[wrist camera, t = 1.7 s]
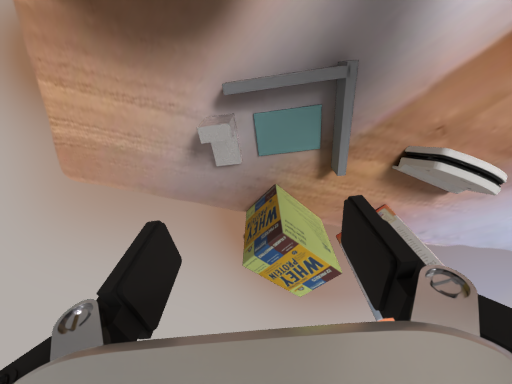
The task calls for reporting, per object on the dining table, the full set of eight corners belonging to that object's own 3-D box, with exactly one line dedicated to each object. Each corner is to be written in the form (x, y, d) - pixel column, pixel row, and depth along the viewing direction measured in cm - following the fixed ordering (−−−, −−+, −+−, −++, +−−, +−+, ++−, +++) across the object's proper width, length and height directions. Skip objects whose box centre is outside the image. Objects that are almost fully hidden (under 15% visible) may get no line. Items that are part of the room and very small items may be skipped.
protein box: (275, 182, 44) (282, 232, 31) (321, 218, 49) (344, 274, 36) (245, 211, 48) (240, 266, 35) (290, 241, 53) (301, 299, 40)
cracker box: (347, 246, 54) (391, 334, 36) (334, 234, 52) (374, 321, 34) (397, 217, 49) (478, 303, 31) (386, 202, 47) (465, 286, 29)
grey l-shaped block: (207, 117, 37) (196, 127, 30) (234, 113, 37) (229, 123, 30) (218, 162, 42) (211, 179, 35) (242, 159, 41) (239, 176, 35)
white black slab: (390, 167, 42) (437, 174, 32) (401, 145, 41) (453, 145, 31) (450, 192, 45) (510, 205, 35) (461, 172, 44) (526, 180, 34)
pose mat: (253, 113, 36) (253, 114, 36) (321, 104, 36) (321, 104, 35) (259, 155, 41) (259, 155, 40) (319, 147, 40) (320, 148, 39)
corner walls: (224, 79, 34) (221, 80, 30) (348, 60, 32) (358, 59, 29) (243, 177, 43) (241, 186, 40) (338, 166, 42) (345, 175, 38)
